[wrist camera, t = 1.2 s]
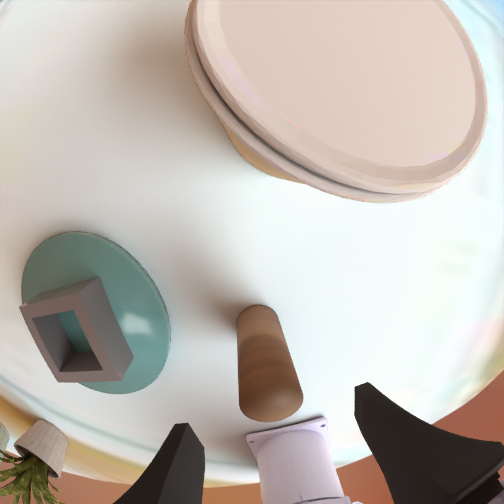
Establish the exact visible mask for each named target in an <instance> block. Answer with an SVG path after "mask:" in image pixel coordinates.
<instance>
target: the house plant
mask: <svg viewBox="0 0 504 504" xmlns="http://www.w3.org/2000/svg"><path fill="white" fill-rule="evenodd" d="M14 447H15V449H16V450H17V452H18V453H19V454H20V455H21V456H22V457H19V458H15V457H12V456H10V455H8V454H6V453H5V452H3V451H2V450H0V452H1V453H2V454H3V455H4V456H5V457H7V458H9V459H5V458H2V457H0V460H2V461H4V462H9V463H13V464H14V465H15V467H14V468H12V469H8V470H4V471H0V474H2V475H4V476H2V477H0V482H3V481H5V480H7V479H8V478H9V477H15V476H17V477H16V478H15V480H14V481H12V482H10V483H11V484H10V483H9V484H10V485H9V484H7V485H9V486H7V485H5V486H4V487H6V486H7V487H6V488H4V487H2V488H4V489H2V490H0V496H6V495H9V494H15V499H14V504H18V501H19V498H20V494H21V493H22V499H23V504H30V492H31V483H33V486H32V491H33V494H34V497H35V500H36V502H37V504H43V503H42V500H41V496H40V491H41V492H42V494H43V498H44V500H45V502H46V504H54V502H56V503H60V504H64V503H61V502H60V501H59V500H58V499H56V498H55V497H54V496H53V494H52V493H51V492H50V491H49V488H48V486H47V485H48V482H49V481H48V476H49V477H52V478H55V479H59V478H60V476H61V471H62V467H63V463H64V458H65V454H66V450H67V447H68V439H67V438H66V436H65V435H64V434H63V433H62V432H61V431H60V430H59V429H58V428H57V427H55V426H54V425H52V424H51V423H49V422H47V421H45V420H42V419H39V420H38V421H37V422H36V423H35V424H34V425H33V426H31V427H30V428H29V429H28V430H27V431H26V432H25V433H24V434H23V435H22V436H21V437H20V438H19V439H18V440H17V441H16V442H15V443H14ZM22 460H24V461H22ZM17 461H22V462H21V463H19V464H15V463H14V462H17ZM49 483H50V482H49ZM51 486H52V485H51ZM52 487H53V489H55V490H56V491H61V490H59V489H57V488H55V487H54V486H52ZM39 490H40V491H39ZM54 499H55V500H56V501H55V500H54ZM53 501H54V502H53ZM57 501H58V502H57Z"/></svg>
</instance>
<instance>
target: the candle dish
mask: <svg viewBox="0 0 504 504" xmlns="http://www.w3.org/2000/svg"><path fill="white" fill-rule="evenodd" d="M22 303H23V305H21V306H20V307H19V308H20V310H21V313H22V315H23V317H24V320H25V322H26V324H27V326H28V328H29V330H30V333H31V335H32V337H33V339H34V341H35V343H36V345H37V347H38V348H39V350H40V352H41V354H42V356H43V358H44V360H45V361H46V363H47V365H48V367H49V368H50V370H51V372H52V373H53V375H54V377H55V378H56V380H57V381H58V382H78V383H80V384H82V385H84V386H86V387H88V388H91V389H93V390H96V391H100V392H104V393H110V394H126V393H132V392H136V391H138V390H141V389H143V388H145V387H146V386H148V385H149V384H151V383H152V382H153V381H154V380H155V379H156V378H157V377H158V375H159V374H160V372H161V371H162V369H163V366H164V364H165V362H166V359H167V356H168V352H169V349H170V341H171V330H170V322H169V316H168V313H167V310H166V306H165V304H164V301H163V299H162V297H161V294H160V292H159V291H158V289H157V287H156V285H155V283H154V282H153V280H152V279H151V277H150V276H149V275H148V273H147V272H146V271H145V269H144V268H143V267H142V266H141V265H140V264H139V263H138V261H137V260H136V259H134V258H133V257H132V256H131V255H130V254H129V253H128V252H127V251H125V250H124V249H123V248H121V247H120V246H118V245H117V244H115V243H113V242H112V241H110V240H108V239H106V238H104V237H101V236H99V235H96V234H92V233H87V232H67V233H64V234H60V235H57V236H54V237H51V238H49V239H48V240H46V241H44V242H43V243H41V244H40V245H39V246H38V247H37V248H36V249H35V250H34V251H33V253H32V254H31V256H30V258H29V259H28V261H27V264H26V266H25V269H24V273H23V278H22Z"/></svg>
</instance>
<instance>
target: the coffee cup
mask: <svg viewBox="0 0 504 504" xmlns="http://www.w3.org/2000/svg"><path fill="white" fill-rule="evenodd" d="M185 45H186V53H187V57H188V62H189V66H190V69H191V71H192V74H193V76H194V79H195V81H196V83H197V85H198V87H199V89H200V91H201V93H202V94H203V96H204V98H205V100H206V101H207V102H208V104H209V105H210V107H211V108H212V110H213V111H214V112H215V114H216V115H217V117H218V118H219V119H220V120H221V122H222V124H223V126H224V128H225V130H226V132H227V133H228V135H229V137H230V139H231V141H232V143H233V144H234V146H235V148H236V149H237V150H238V152H239V153H240V154H241V155H242V156H243V158H244V159H245V160H246V161H247V162H248V163H250V164H251V165H252V166H253V167H255V168H257V169H258V170H260V171H262V172H264V173H266V174H268V175H271V176H274V177H277V178H280V179H285V180H289V181H293V182H298V183H302V184H307V185H309V186H311V187H314V188H316V189H319V190H321V191H323V192H326V193H330V194H333V195H336V196H339V197H342V198H347V199H352V200H357V201H362V202H373V203H395V202H402V201H409V200H414V199H417V198H420V197H423V196H426V195H428V194H430V193H433V192H435V191H437V190H438V189H440V188H441V187H443V186H444V185H446V184H447V183H448V182H449V181H450V180H452V179H453V178H454V177H456V176H457V175H459V174H460V173H461V172H462V171H463V170H464V169H465V168H466V167H467V166H468V165H469V163H470V162H471V161H472V159H473V158H474V156H475V154H476V153H477V151H478V149H479V147H480V145H481V142H482V139H483V136H484V132H485V128H486V122H487V114H488V98H487V88H486V83H485V78H484V74H483V70H482V66H481V64H480V61H479V58H478V55H477V53H476V51H475V48H474V46H473V44H472V42H471V40H470V38H469V36H468V35H467V33H466V31H465V29H464V28H463V26H462V25H461V23H460V22H459V20H458V19H457V17H456V16H455V15H454V13H453V12H452V11H451V10H450V8H449V7H448V6H447V5H446V4H445V2H444V1H443V0H192V1H191V3H190V5H189V8H188V12H187V16H186V22H185Z"/></svg>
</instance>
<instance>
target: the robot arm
mask: <svg viewBox="0 0 504 504" xmlns="http://www.w3.org/2000/svg"><path fill="white" fill-rule="evenodd" d="M354 415H355V418H356V421H357V423H358V426H359V428H360V431H361V433H362V435H363V437H364V439H365V441H366V443H367V444H368V446H369V448H370V450H371V452H372V453H373V455H374V457H375V459H376V461H377V462H378V464H379V466H380V468H381V470H382V472H383V474H384V477H385V479H386V482H387V484H388V487H389V490H390V493H391V495H392V498H393V501H394V504H504V480H502V481H501V482H499V480H498V478H499V477H500V475H499V474H498V472H497V471H498V470H499V469H500V468H501V467H502V466H503V465H504V445H503V444H502V443H501V442H493V441H484V440H477V439H472V438H467V437H464V436H460V435H457V434H454V433H450V432H447V431H445V430H442V429H440V428H437V427H435V426H433V425H431V424H429V423H427V422H425V421H423V420H421V419H419V418H417V417H416V416H414V415H412V414H411V413H409V412H407V411H406V410H404V409H403V408H401V407H400V406H398V405H397V404H396V403H394V402H393V401H391V400H390V399H389V398H388V397H386V396H385V395H384V394H382V393H381V392H380V391H379V390H377V389H376V388H375V387H374V386H373V385H372V384H370V383H369V382H367V383H364V384H361V385H359V386H356V387H355V412H354ZM246 441H247V443H248V445H249V447H250V449H251V451H252V453H253V455H254V457H255V459H256V461H257V463H258V468H259V478H260V487H261V496H262V504H362V503H360V502H358V501H357V502H353V503H351V502H350V499H349V496H344V493H343V490H342V487H341V485H340V481H339V478H338V475H337V472H336V470H335V467H334V464H333V461H332V458H331V455H330V445H329V432H328V421H327V419H326V418H325V417H322V418H318V419H315V420H311V421H307V422H304V423H300V424H296V425H292V426H287V427H283V428H279V429H274V430H269V431H264V432H258V433H253V434H248V435H246ZM204 472H205V455H204V447H203V445H202V444H201V442H200V441H199V439H198V438H197V436H196V435H195V433H194V432H193V430H192V428H191V427H190V425H189V424H188V423H181V424H175V425H174V426H173V428H172V430H171V431H170V433H169V435H168V436H167V438H166V440H165V441H164V443H163V445H162V446H161V448H160V450H159V451H158V453H157V454H156V456H155V457H154V459H153V460H152V462H151V463H150V464H149V466H148V467H147V468H146V470H145V471H144V472H143V474H142V475H141V476H140V478H139V479H138V480H137V481H136V482H135V483H134V484H133V486H132V487H131V488H130V489H129V490H128V491H127V492H126V493H124V494H123V495H122V496H121V497H120V498H119V499H118V500H117V501H116V502H114V503H113V504H202V494H203V483H204Z"/></svg>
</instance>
